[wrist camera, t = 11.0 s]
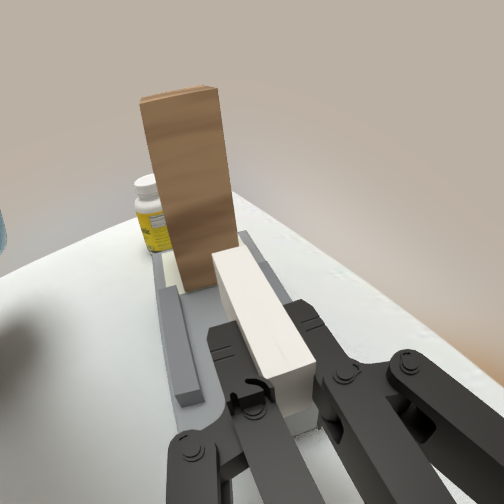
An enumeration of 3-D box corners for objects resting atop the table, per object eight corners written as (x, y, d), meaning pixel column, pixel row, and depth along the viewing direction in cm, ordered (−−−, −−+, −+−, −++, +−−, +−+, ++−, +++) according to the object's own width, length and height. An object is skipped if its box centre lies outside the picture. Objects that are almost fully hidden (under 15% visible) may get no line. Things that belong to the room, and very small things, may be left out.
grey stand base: (334, 420, 20) (346, 371, 17) (199, 464, 18) (171, 426, 15) (251, 268, 37) (244, 217, 33) (164, 291, 35) (148, 241, 31)
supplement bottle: (146, 242, 44) (128, 178, 38) (183, 232, 45) (168, 167, 40) (150, 263, 40) (128, 192, 34) (190, 251, 41) (174, 179, 35)
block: (243, 276, 27) (217, 88, 19) (184, 292, 26) (139, 103, 18) (226, 241, 32) (202, 85, 23) (176, 254, 31) (141, 97, 22)
